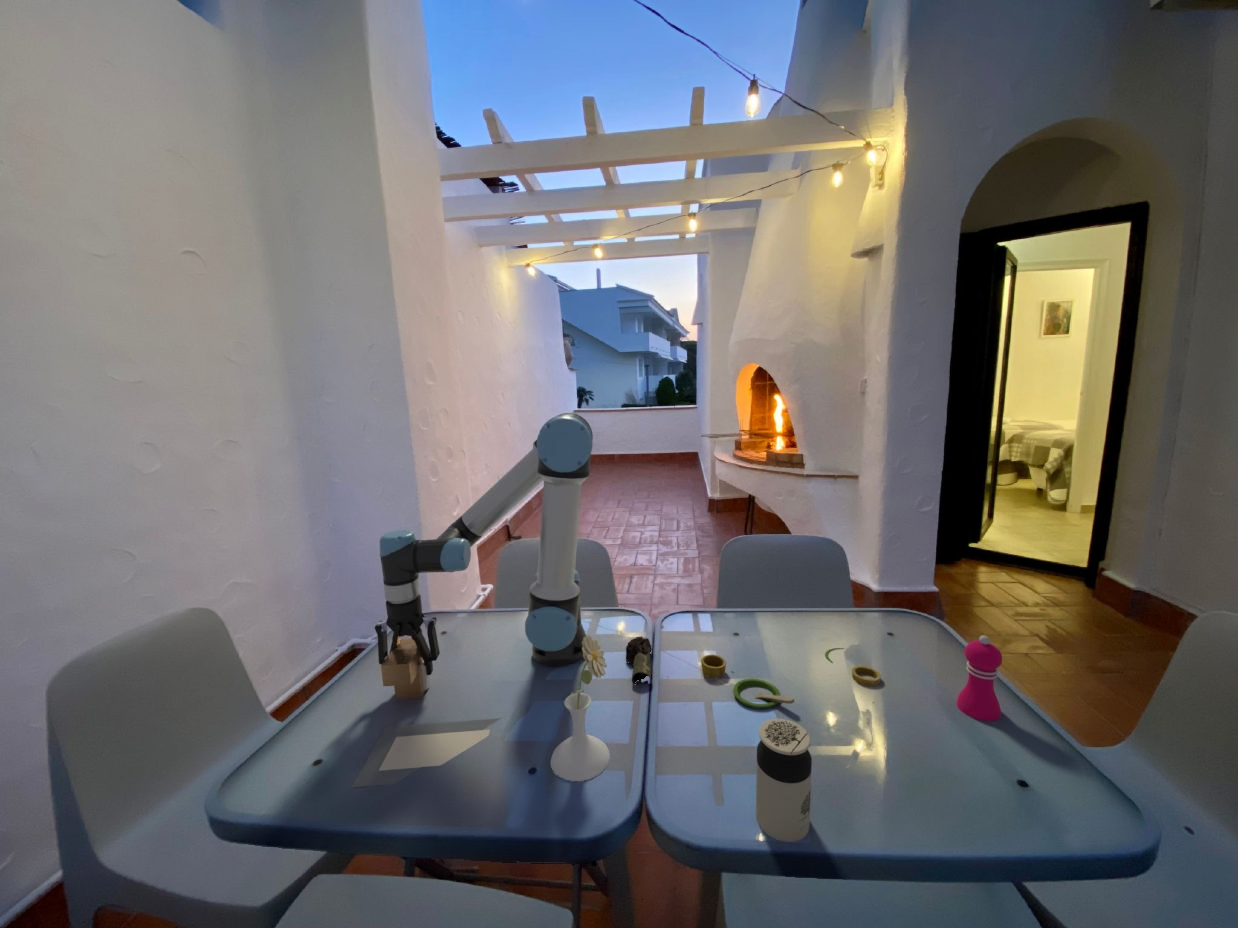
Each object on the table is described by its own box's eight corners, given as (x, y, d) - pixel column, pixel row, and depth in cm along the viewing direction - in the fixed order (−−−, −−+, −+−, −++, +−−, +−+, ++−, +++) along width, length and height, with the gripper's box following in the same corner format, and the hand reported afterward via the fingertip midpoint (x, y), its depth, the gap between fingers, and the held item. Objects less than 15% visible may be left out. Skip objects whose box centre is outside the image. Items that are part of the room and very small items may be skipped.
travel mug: (745, 833, 78) (746, 731, 76) (775, 806, 83) (777, 710, 80) (789, 871, 72) (792, 762, 69) (819, 840, 77) (823, 736, 74)
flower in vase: (588, 801, 85) (581, 669, 81) (538, 776, 91) (530, 651, 87) (626, 753, 96) (622, 634, 92) (580, 733, 102) (574, 620, 98)
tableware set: (708, 727, 104) (708, 700, 103) (696, 656, 131) (696, 634, 130) (912, 730, 101) (913, 702, 100) (856, 656, 128) (857, 634, 127)
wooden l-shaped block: (429, 682, 122) (425, 637, 120) (414, 712, 110) (408, 663, 109) (404, 684, 121) (399, 639, 120) (386, 714, 110) (380, 665, 108)
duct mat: (509, 721, 107) (509, 716, 106) (497, 779, 91) (496, 774, 91) (386, 731, 105) (385, 726, 105) (351, 792, 89) (350, 786, 89)
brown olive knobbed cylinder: (652, 689, 115) (652, 667, 114) (623, 688, 116) (623, 666, 115) (652, 651, 133) (652, 631, 132) (627, 650, 133) (627, 631, 132)
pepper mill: (986, 744, 96) (995, 649, 92) (947, 722, 102) (954, 632, 99) (1006, 731, 99) (1015, 639, 96) (967, 711, 105) (975, 623, 102)
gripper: (448, 588, 119) (457, 675, 123) (368, 592, 118) (378, 681, 122) (440, 601, 112) (449, 694, 115) (353, 606, 111) (365, 700, 114)
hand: (412, 687), depth 119 cm, fingers closed on wooden l-shaped block, 6 cm apart
